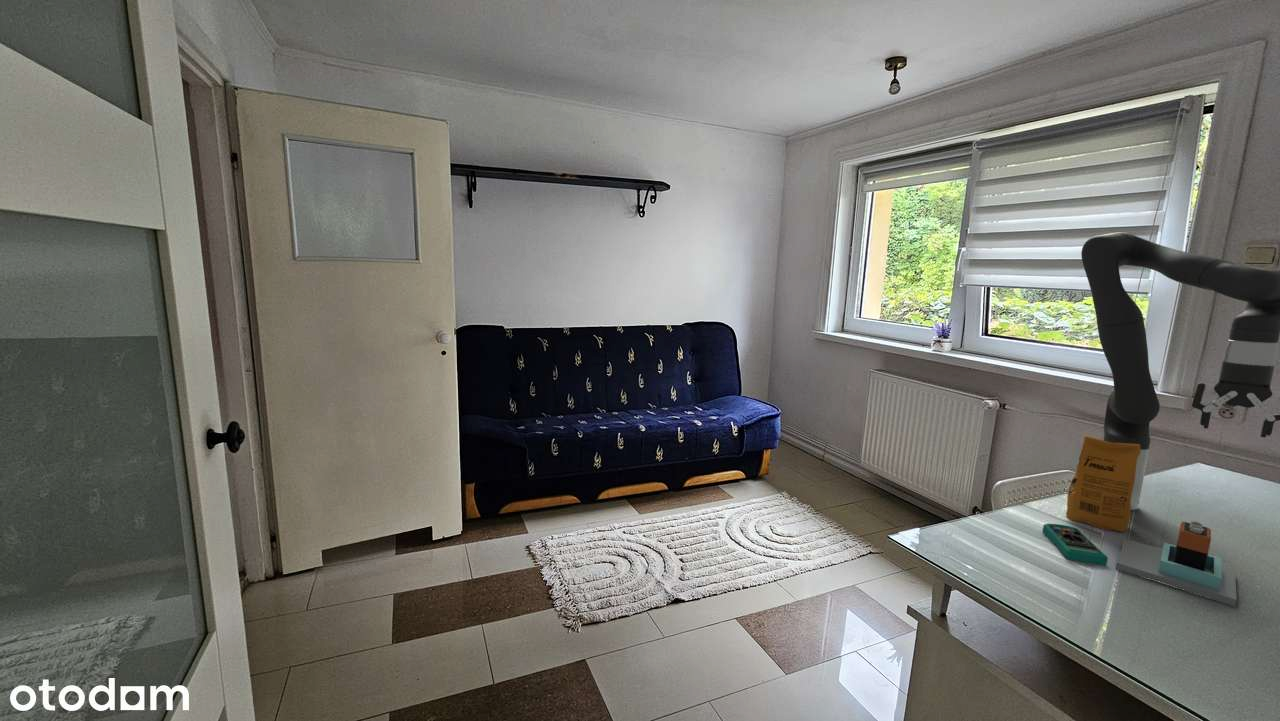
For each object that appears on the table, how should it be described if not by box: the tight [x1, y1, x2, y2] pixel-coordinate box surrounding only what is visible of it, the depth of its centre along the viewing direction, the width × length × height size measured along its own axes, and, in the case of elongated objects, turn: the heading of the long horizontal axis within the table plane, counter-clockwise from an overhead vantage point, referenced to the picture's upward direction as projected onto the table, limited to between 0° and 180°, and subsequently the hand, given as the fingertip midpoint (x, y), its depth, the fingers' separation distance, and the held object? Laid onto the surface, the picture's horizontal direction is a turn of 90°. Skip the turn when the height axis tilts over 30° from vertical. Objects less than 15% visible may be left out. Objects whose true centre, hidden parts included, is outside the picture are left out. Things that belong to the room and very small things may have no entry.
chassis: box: [1115, 538, 1238, 608], centre depth 110 cm, size 17×16×4 cm
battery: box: [1174, 521, 1212, 571], centre depth 108 cm, size 4×7×10 cm, turn 132°
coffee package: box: [1065, 435, 1141, 533], centre depth 132 cm, size 10×12×22 cm
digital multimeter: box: [1042, 523, 1109, 566], centre depth 120 cm, size 7×15×3 cm, turn 160°
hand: (1233, 432), depth 116 cm, fingers open, 8 cm apart
